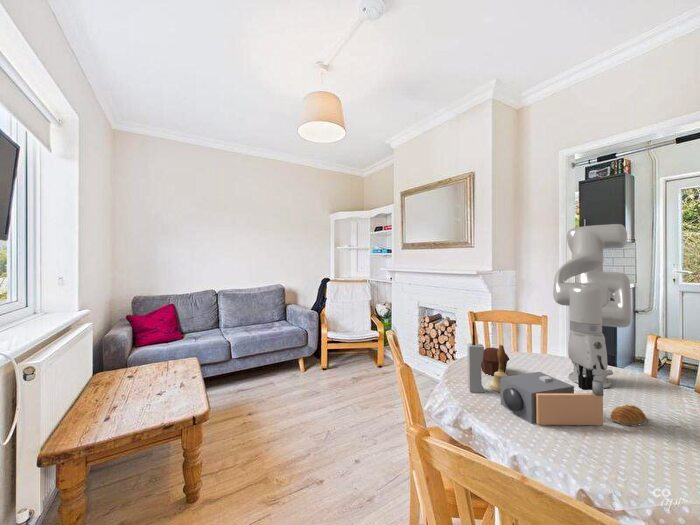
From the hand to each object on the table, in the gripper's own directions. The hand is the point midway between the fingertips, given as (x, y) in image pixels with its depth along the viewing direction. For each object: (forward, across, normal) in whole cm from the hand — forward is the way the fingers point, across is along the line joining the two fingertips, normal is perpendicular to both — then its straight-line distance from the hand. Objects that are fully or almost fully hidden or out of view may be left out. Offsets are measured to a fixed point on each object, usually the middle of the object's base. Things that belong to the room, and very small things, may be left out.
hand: (585, 388), depth 88 cm
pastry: (+10, 0, -12) cm, 15 cm away
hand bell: (+9, +20, +16) cm, 27 cm away
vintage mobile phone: (+9, +18, +26) cm, 33 cm away
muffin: (+9, +35, +13) cm, 38 cm away
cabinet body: (+9, +5, +12) cm, 16 cm away
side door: (+8, -4, +7) cm, 12 cm away
